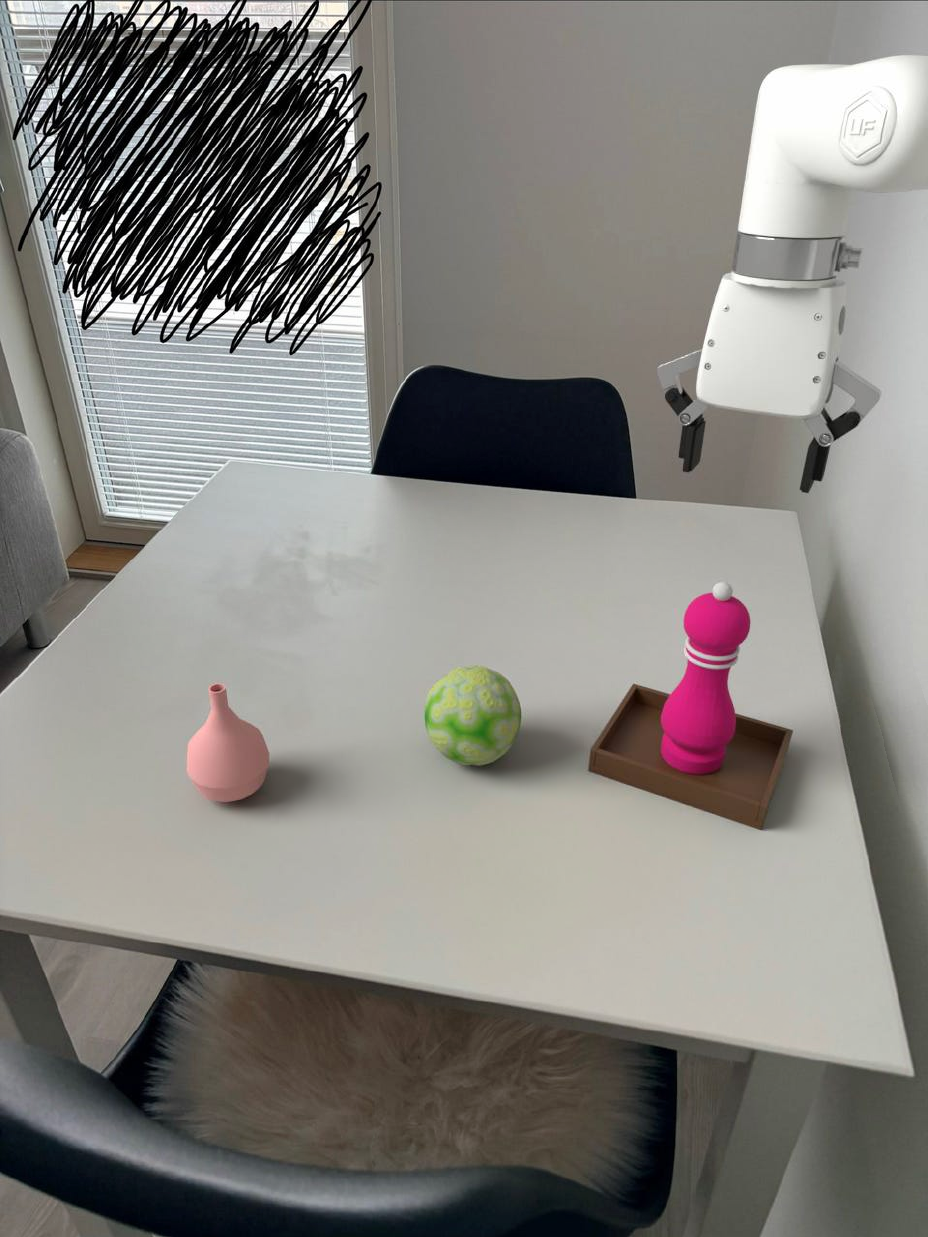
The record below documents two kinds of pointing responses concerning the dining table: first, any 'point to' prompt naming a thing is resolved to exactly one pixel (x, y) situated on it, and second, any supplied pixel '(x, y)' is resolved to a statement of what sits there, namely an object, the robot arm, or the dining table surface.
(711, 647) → the pepper mill
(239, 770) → the pink bulb vase
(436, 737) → the decorative ball
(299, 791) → the dining table surface
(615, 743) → the tray
